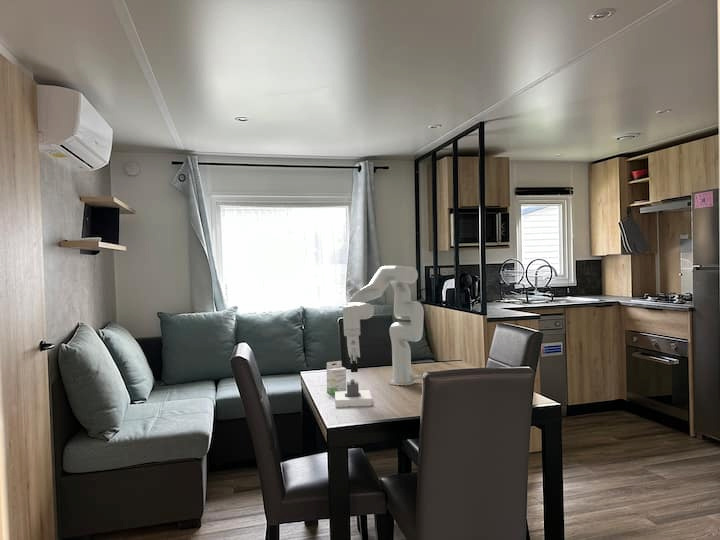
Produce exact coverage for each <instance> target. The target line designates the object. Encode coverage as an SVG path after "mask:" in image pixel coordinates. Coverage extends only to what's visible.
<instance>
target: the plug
mask: <svg viewBox="0 0 720 540" xmlns="http://www.w3.org/2000/svg"><path fill="white" fill-rule="evenodd" d="M359 390H360V389H359V382H358V381H355V379H354V378H351V379H350V381H348V382H347V381H346V391H347V397H359Z"/></svg>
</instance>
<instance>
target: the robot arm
mask: <svg viewBox="0 0 720 540" xmlns="http://www.w3.org/2000/svg"><path fill="white" fill-rule="evenodd" d="M418 273H419V272H418V270H417V269H416V268H415V267H414V266H406V265H405V266H404V265H384V266H380V267H379V268H378V270H377V271H376V272H375V273H374V275H373V277H372V278H371V280H370V281H369V283H368V284H367V285H365V286H364V287H363V288H360V289H359V290H358V291H356V292H355V293H353V294H352V296H351V297H350V298H349V300H348V301H347V303H346V304H345V305H344V306H343V307H342V316H343V317H342V319H343V320H342V321H343V335H344V337H346V344H347V345H346V346H347V351H348V357H349V358H350V372H351V373H358V372H359V367H358V366H359V365H358V359H357V358H361V352H360V350H361V349H360V339H359V336H361V320H369V319H370V318H372V317H373V316H374V314H375V308H374V305H372V304H371V303H369V302H370V301H372V300H375V299H378V298H380V297H382V296H383V294H384V293H385V292H386V291H387V288H388V287H389V285H391V286H392V288H393V292H394V295H393V296H394V298H393V316H394V317H395V319H399V320H409V321H410V322H407V321H397V322H393V323H392V324H391V325H390V327H389V336H390V341H391V356H392V379H391V380H390V381H389V383H390V385H392V386H393V385H394V386H399V385H401V387H402V386H403V385H404V386H411V385H415V383H416V382H415V380H421V378H422V377H421V375H417V374H415V375H413V373H412V361H411V360H412V357H411V356H412V354H411V352H412V351H411V346H410V344H409V342H420V340H422V337H423V332H424V319H425V317H424V315H425V313H424V306H423V304H422V303H421V302H419V301H416V300H413V301H412V299H411V298H412V297H411V296H412V291H411V289H410V286H409V285H408V284H414V283H416V281H417V280H418V277H419V274H418Z"/></svg>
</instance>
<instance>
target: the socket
mask: <svg viewBox="0 0 720 540" xmlns="http://www.w3.org/2000/svg"><path fill="white" fill-rule="evenodd" d="M334 401H335V402H334V403H335V408H344V407H346V408H348V406H351V407H367V406H371V405H372V406H373V397H372V394H371V392H370V389H362V390H360V389H359V397H347V390H346V391H336V392H335V394H334ZM372 406H371V407H372Z"/></svg>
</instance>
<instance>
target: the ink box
mask: <svg viewBox="0 0 720 540" xmlns="http://www.w3.org/2000/svg"><path fill="white" fill-rule="evenodd" d="M342 363H343V362H342V360H336V361H327V362H326V393H327V394H330V395H333V394H334V395H335V392H336V391H347V368H346V367H344V366H342ZM333 364H334V365H333Z"/></svg>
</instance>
